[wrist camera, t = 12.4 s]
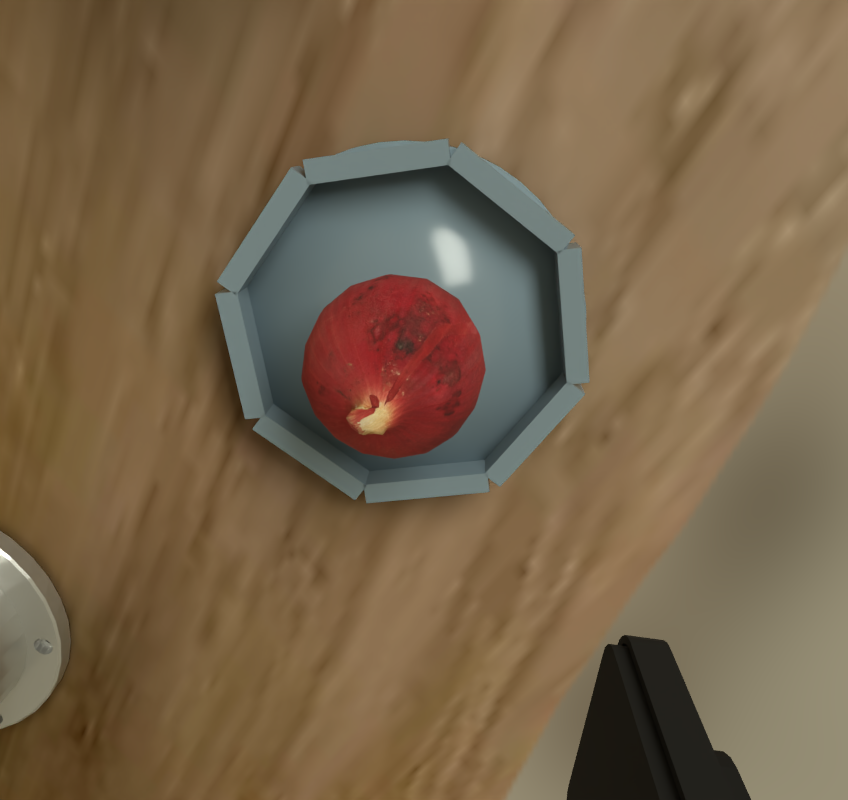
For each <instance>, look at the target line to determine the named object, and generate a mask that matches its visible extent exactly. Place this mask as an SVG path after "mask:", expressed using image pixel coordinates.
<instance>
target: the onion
mask: <svg viewBox="0 0 848 800" xmlns="http://www.w3.org/2000/svg"><path fill="white" fill-rule="evenodd" d="M485 371H486V368H485V362H484V356H483V350H482V344H481V337H480V334H479V332H478V330H477V328H476V326H475V325H474V323H473V322H472V320H471V318H470V317H469V315H468V313H467V312H466V310H465V308H464V307H463V305H462V304H461V302H460V300H459V299H458V298H456V297H455V296H453V295H452V294H450V293H449V292H447V291H445V290H444V289H442V288H441V287H439V286H438V285H436V284H435V283H433V282H431V281H430V280H428V279H425V278H417V277H409V276H401V275H393V274H389V275H384V276H380V277H377V278H374V279H371V280H368V281H364V282H361V283H358V284H355V285H352V286H350V287H349V288H347V289H346V290H345V291H344V292H343V293H341V294H340V295H339V296H338V297H337V298H335V299H334V300H333V301H332V302H331V303H329V304H328V305H327V306H326V307H325V308H324V309H323V310H322V312H321V313H320V315H319V317H318V319H317V321H316V323H315V325H314V328H313V330H312V332H311V334H310V336H309V338H308V340H307V342H306V344H305V351H304V360H303V368H302V377H301V380H302V383H303V387H304V389H305V392H306V394H307V397H308V399H309V402H310V404H311V407H312V409H313V412H314V414H315V416H316V417H317V418H318V419H319V420H320V421H321V422H322V424H323V425H324V426H325V427H326V428H327V429H328V430H329V431H330V433H331V434H332V435H333V436H334V437H335V438H336V439H338V440H340V441H341V442H343V443H345V444H347V445H348V446H350V447H352V448H354V449H355V450H357V451H359V452H361V453H363V454H369V455H375V456H381V457H387V458H393V459H396V458H402V457H407V456H413V455H419V454H425V453H428V452H429V451H431V450H432V449H434V448H436V447H437V446H439V445H440V444H442V443H444V442H445V441H447V440H449V439H450V438H452V437H453V436H454V435H455V434H456V433H457V432H458V431H459V429H460V428H461V427H462V425H463V424H464V422H465V421H466V420H467V418H468V417H469V415H470V414H471V413H472V411H473V410H474V408H475V406H476V403H477V400H478V397H479V393H480V390H481V386H482V382H483V379H484V375H485Z"/></svg>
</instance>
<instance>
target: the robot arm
mask: <svg viewBox="0 0 848 800" xmlns="http://www.w3.org/2000/svg"><path fill="white" fill-rule="evenodd" d="M70 645H71V638H70V629H69V621H68V618H67V615H66V612H65V609H64V606H63V603H62V600H61V598H60V596H59V595H58V593H57V591H56V589H55V588H54V586H53V584H52V582H51V580H50V579H49V577H48V576H47V575H46V573H45V572H44V571H43V570H42V569H41V567H40V566H39V565H38V564H37V562H36V561H35V560H34V559H33V557H32V556H30V555H29V554H28V553H27V552H26V551H25V550H24V549H23V548H22V547H20V546H19V545H18V544H17V543H16V542H15V541H14V540H13V539H12V538H10V537H9V536H7V535H6V534H4V533H3V532H1V531H0V729H3V728H5V727H8V726H11V725H13V724H16V723H19V722H20V721H22V720H23V719H25V718H26V717H28V716H30V715H31V714H33V713H34V712H35V711H36V710H37V709H38V708H39V707H40V706H41V705H42V704H43V703H44V702H45V701H46V700H47V699H48V697H49V696H50V695H51V693H52V692H53V690H54V689H55V688H56V686H57V685H58V683H59V682H60V680H61V679H62V677H63V675H64V672H65V669H66V667H67V664H68V662H69V654H70ZM567 800H751V798H750V796H749V794H748V792H747V790H746V787H745V785H744V783H743V781H742V778H741V776H740V774H739V772H738V770H737V768H736V766H735V764H734V763H733V761H732V759H731V757H729V756H728V755H727V754H726V753H725V752H723V751H715V750H713V748H712V745H711V743H710V741H709V738H708V736H707V734H706V731H705V729H704V727H703V724H702V722H701V720H700V718H699V715H698V712H697V710H696V708H695V706H694V704H693V701H692V698H691V696H690V694H689V691H688V689H687V687H686V684H685V682H684V680H683V677H682V675H681V673H680V670H679V668H678V665H677V663H676V661H675V658H674V656H673V654H672V652H671V649H670V647H669V645H668V644H667V642H665V641H664V640H658V639H650V638H642V637H635V636H628V635H624V636H622V637H621V639H620V640H619V643H618V645H612V644H608V645H607V646H606V647H605V650H604V653H603V657H602V660H601V664H600V668H599V672H598V675H597V679H596V683H595V687H594V691H593V696H592V698H591V702H590V706H589V710H588V714H587V718H586V721H585V725H584V729H583V733H582V737H581V741H580V744H579V748H578V752H577V756H576V760H575V764H574V767H573V771H572V775H571V779H570V783H569V787H568V792H567Z"/></svg>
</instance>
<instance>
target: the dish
mask: <svg viewBox="0 0 848 800" xmlns="http://www.w3.org/2000/svg"><path fill="white" fill-rule="evenodd" d="M303 164H304V169H303V168H301V167H300V166H296V167H291V168H290V170H289V171H288V173H287V174H286V176H285V178H284V179H283V181H282V182H281V184H280V185H279V187H278V188H277V190H276V191H275V193H274V194H273V196H272V198H271V199H270V201H269V202H268V204H267V205H266V207H265V208H264V210H263V211H262V213H261V214H260V216H259V218H258V219H257V221H256V222H255V224H254V225H253V227H252V228H251V230H250V231H249V233H248V235H247V236H246V238H245V239H244V241H243V242H242V244H241V245H240V247H239V248H238V250H237V251H236V253H235V255H234V256H233V258H232V259H231V261H230V262H229V264H228V265H227V267H226V268H225V270H224V272H223V273H222V275H221V276H220V278H219V279H218V281H217V282H218V283H219V284H221V285H222V286H224V287H225V288H224V289H223V290H221V291H219V292H218V293H216V294H215V296H216V301H217V305H218V309H219V313H220V317H221V321H222V326H223V330H224V334H225V338H226V342H227V346H228V350H229V355H230V359H231V363H232V367H233V371H234V375H235V379H236V384H237V388H238V392H239V396H240V400H241V404H242V409H243V413H244V417H245V419H253V418H260V419H259V421H258V422H257V423H256V425H255V426H254V427H253V430H254V431H255V432H257V433H258V434H260V435H261V436H263V437H264V438H266V439H267V440H268V441H270V442H271V443H273V444H274V445H276V446H277V447H279V448H280V449H281V450H283V451H284V452H286V453H287V454H289V455H290V456H292V457H293V458H295V459H296V460H297V461H299V462H300V463H302V464H303V465H305V466H306V467H308V468H309V469H310V470H312V471H313V472H315V473H316V474H318V475H319V476H321V477H322V478H323V479H325V480H326V481H328V482H329V483H331V484H332V485H334V486H335V487H337V488H338V489H339V490H341V491H342V492H344V493H345V494H347V495H348V496H350V497H351V498H352V499H354V500H356V498H357V497H358V496H359V495H360V494H361V492H362V491H363V490H364V492H365V498H366V503H375V502H386V501H397V500H408V499H419V498H429V497H440V496H451V495H462V494H473V493H484V492H489V479H490V480H491V481H493V482H494V483H496V484H497V485H498V486H501V485H502V484H503V483H504V482H505V481H506V480H507V479H508V478H509V477H510V476H511V474H512V473H513V472H514V471H515V470H516V469H517V468H518V467H519V466H520V465H521V464H522V462H523V461H524V460H525V459H526V458H527V457H528V456H529V455H530V454H531V453H532V452H533V450H534V449H535V448H536V447H537V446H538V445H539V444H540V443H541V442H542V441H543V440H544V438H545V437H546V436H547V435H548V434H549V433H550V432H551V431H552V430H553V429H554V428H555V426H556V425H557V424H558V423H559V422H560V421H561V420H562V419H563V418H564V417H565V416H566V414H567V413H568V412H569V411H570V410H571V409H572V408H573V407H574V406H575V405H576V404H577V402H578V401H579V400H580V399H581V398H582V397H583V396H584V395H585V393H584V390H583V388H582V386H581V384H580V383H589V367H588V350H587V334H586V304H585V296H584V284H583V268H582V251H581V247H580V246H579V245H578V244H577V243H569V242H570V241H571V240H572V238H573V237H574V236H575V235H574V234H573V233H572V232H571V231H570V230H569V229H568V228H566V227H565V226H564V225H563V224H561V223H560V222H559V221H558V220H557V219H555V218H554V217H553V216H552V215H551V214H550V212H549V211H548V210H547V209H546V208H545V206H544V205H543V204H542V203H541V201H540V200H539V199H538V198H537V197H536V196H535V195H534V194H533V193H532V192H531V191H529V190H528V189H527V188H526V187H525V186H524V185H523V184H522V183H521V182H520V181H519V180H517V179H516V178H515V177H513V176H512V175H510V174H509V173H508V172H506V171H505V170H503V169H502V168H500V167H499V166H497V165H495V164H493V163H491V162H489V161H488V160H486V159H484V158H482V157H480V156H478V155H477V154H476V153H475V152H473V151H472V150H471V149H470V148H469V147H467V146H466V145H465V144H464V143H461V144H460V145H459V147H458V148H456V147H452V146H450V145H449V138H448V139H441V140H434V141H428V142H422V141H406V140H405V141H392V142H379V143H374V144H369V145H365V146H360V147H356V148H352V149H349V150H347V151H344V152H341V153H339V154H336V155H332V156H325V157H318V158H312V159H305V160H303ZM389 274H393V275H401V276H409V277H417V278H425V279H428V280H430V281H431V282H433V283H435V284H436V285H438V286H439V287H441V288H442V289H444V290H445V291H447V292H449V293H450V294H452V295H453V296H455V297H456V298H458V299H459V300H460V302H461V304H462V305H463V307H464V308H465V310H466V312H467V313H468V315H469V317H470V318H471V320H472V322H473V323H474V325H475V326H476V328H477V330H478V332H479V334H480V337H481V344H482V350H483V356H484V362H485V368H486V371H485V375H484V379H483V382H482V386H481V390H480V393H479V397H478V400H477V403H476V406H475V408H474V410H473V411H472V413H471V414H470V415H469V417H468V418H467V420H466V421H465V422H464V424H463V425H462V427H461V428H460V429H459V431H458V432H457V433H456V434H455V435H454V436H453V437H452V438H450V439H449V440H447V441H445V442H444V443H442V444H440V445H439V446H437V447H436V448H434V449H432V450H431V451H429V452H428V453H425V454H419V455H413V456H407V457H402V458H396V459H393V458H387V457H381V456H375V455H369V454H363V453H361V452H359V451H357V450H355V449H354V448H352V447H350V446H348V445H347V444H345V443H343V442H341V441H340V440H338V439H336V438H335V437H334V436H333V435H332V434H331V433H330V431H329V430H328V429H327V428H326V427H325V426H324V425H323V424H322V422H321V421H320V420H319V419H318V418H317V417H316V416H315V414H314V412H313V409H312V407H311V404H310V402H309V399H308V397H307V394H306V392H305V389H304V387H303V383H302V380H301V377H302V368H303V360H304V351H305V344H306V342H307V340H308V338H309V336H310V334H311V332H312V330H313V328H314V325H315V323H316V321H317V319H318V317H319V315H320V313H321V312H322V310H323V309H324V308H325V307H326V306H327V305H328V304H329V303H331V302H332V301H333V300H334V299H335V298H337V297H338V296H339V295H340V294H341V293H343V292H344V291H345V290H346V289H347V288H349V287H350V286H352V285H355V284H358V283H361V282H364V281H368V280H371V279H374V278H377V277H380V276H384V275H389Z"/></svg>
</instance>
